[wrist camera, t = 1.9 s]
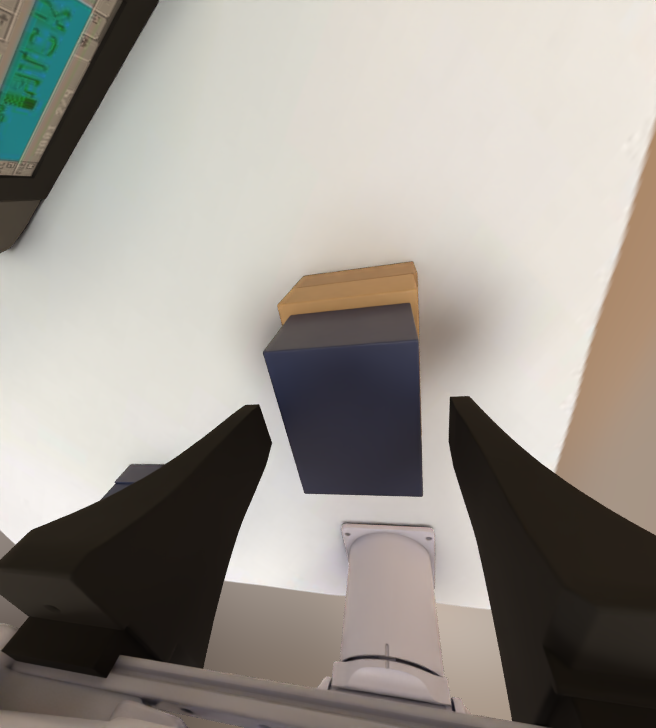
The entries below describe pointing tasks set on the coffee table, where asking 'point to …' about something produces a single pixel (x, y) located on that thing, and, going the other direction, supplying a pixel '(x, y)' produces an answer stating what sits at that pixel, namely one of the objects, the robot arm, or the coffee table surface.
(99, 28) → the handheld gaming console
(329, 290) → the tan books
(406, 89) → the coffee table surface
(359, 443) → the navy rectangular block
